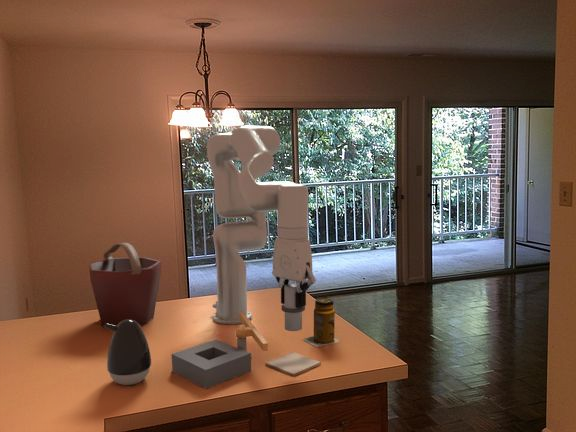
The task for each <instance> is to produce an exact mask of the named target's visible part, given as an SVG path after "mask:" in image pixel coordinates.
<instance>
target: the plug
mask: <svg viewBox="0 0 576 432" xmlns="http://www.w3.org/2000/svg"><path fill="white" fill-rule="evenodd" d="M296 292H298V291H297V286H296V283H290V284H288V285H285V286H284V299H285V304H281V306H280V307H281V311H282V312H283V313H284V330H286V331H288V332H297V331H298V332H299V331H302V329H303V312H304V311H305V310H306V305H305V306H303V307H300V308H296V306H295V293H296Z"/></svg>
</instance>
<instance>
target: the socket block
mask: <svg viewBox="0 0 576 432" xmlns="http://www.w3.org/2000/svg"><path fill="white" fill-rule="evenodd" d="M236 341H237V342H236V344H237V345H236V346H235V345H232V344H230V343H227V342H224V341H222V340H219V339H217V338H216V339H213V340H209V341H207V342H203V343H201V344H198V345H194V346H192V347H188V348H184V349H183V350H179V351H177V352H173V353H171V372H172V373H174V374H177V375H178V376H181V377H182V378H184V379H186V380H188V381H190V382H192V383H193V384H196V385H198V386H199V387H201V388H204V389H205V390H207V389H209V388H213V387H215V386H216V385H217V386H218V385H220V384H222V383H224V382H227V381H229V380H232V379H234V378H237V377H239V376H241V375H244V374H247V373H249V372H251V371H252V360H251V359H252V353H251V352H249V351H247V337H246V338H237V337H236Z"/></svg>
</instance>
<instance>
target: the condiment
mask: <svg viewBox="0 0 576 432" xmlns="http://www.w3.org/2000/svg"><path fill="white" fill-rule="evenodd" d="M335 316H336V315H335V308H334V300H333V299H331V298H327V297H321V298H317V299H315V302H314V309H313V336H310V337H304V338H302V340H303V341H305V342H306V343H308V344H310V345H312V346H314V347H316V348H319V347H323V346H326V345H332V344H335V343H339V342H341V340H339V339H337V338H335V321H336V320H335Z"/></svg>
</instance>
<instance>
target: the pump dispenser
mask: <svg viewBox="0 0 576 432" xmlns="http://www.w3.org/2000/svg"><path fill="white" fill-rule="evenodd" d="M104 328H106V329H108V330H110V331H113V334H112V336H111V339H110V342H109V347H108V351H107V360H106V368H107V369H106V370H107V371H108V373H109V375H110V377H111V379H112V380H113V381H114V382H115V383H116V384H119V385H123V386H131V385H136V384H138V383H140V382H142V381H143V380H144V379H145V378H146V377H147V376H148V374H149V372H150V369H151V366H152V356H151V355H152V354H151V351H150V346H149V342H148V339H147V337H146V334H145V332H144V330H143V329H142V327H141V325H139V324H138V323H137V322H136V321H135V320H132V319H125V320H123V321H121V322H120V323H119V324H118V325H117V326H115V325H112V324H108V323H106V324H105V327H104Z"/></svg>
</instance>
